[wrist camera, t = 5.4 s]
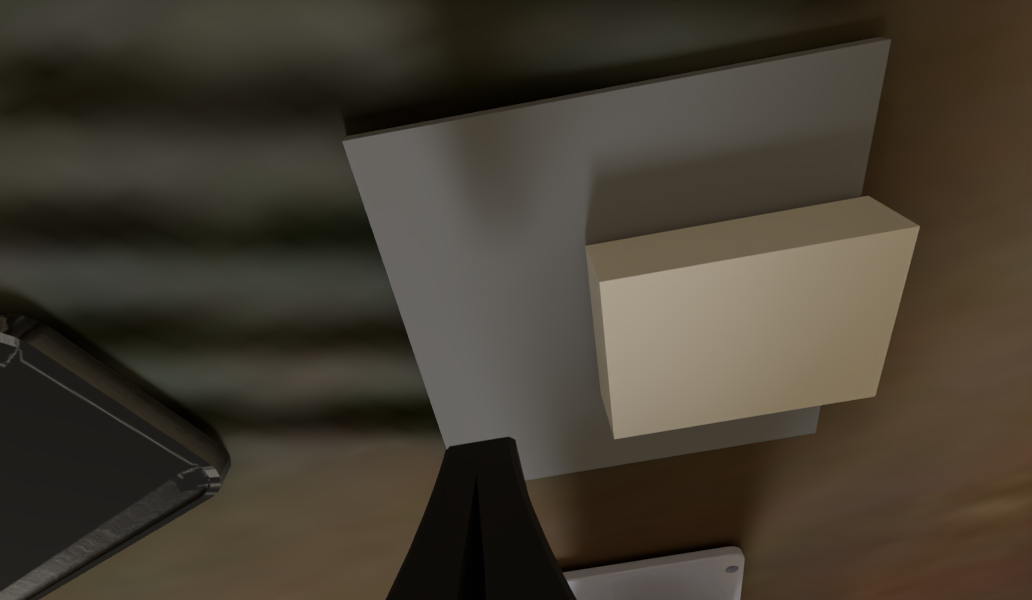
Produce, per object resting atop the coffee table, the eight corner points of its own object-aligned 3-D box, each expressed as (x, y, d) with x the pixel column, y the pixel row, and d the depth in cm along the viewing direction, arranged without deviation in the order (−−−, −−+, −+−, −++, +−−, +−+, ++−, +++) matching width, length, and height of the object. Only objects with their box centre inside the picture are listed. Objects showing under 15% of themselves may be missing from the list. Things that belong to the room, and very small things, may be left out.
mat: (809, 424, 18) (815, 432, 18) (460, 481, 19) (460, 491, 18) (879, 37, 12) (891, 39, 11) (345, 136, 12) (342, 141, 12)
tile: (599, 389, 16) (832, 350, 16) (614, 439, 14) (875, 396, 14) (583, 242, 14) (863, 192, 13) (599, 282, 12) (919, 225, 12)
